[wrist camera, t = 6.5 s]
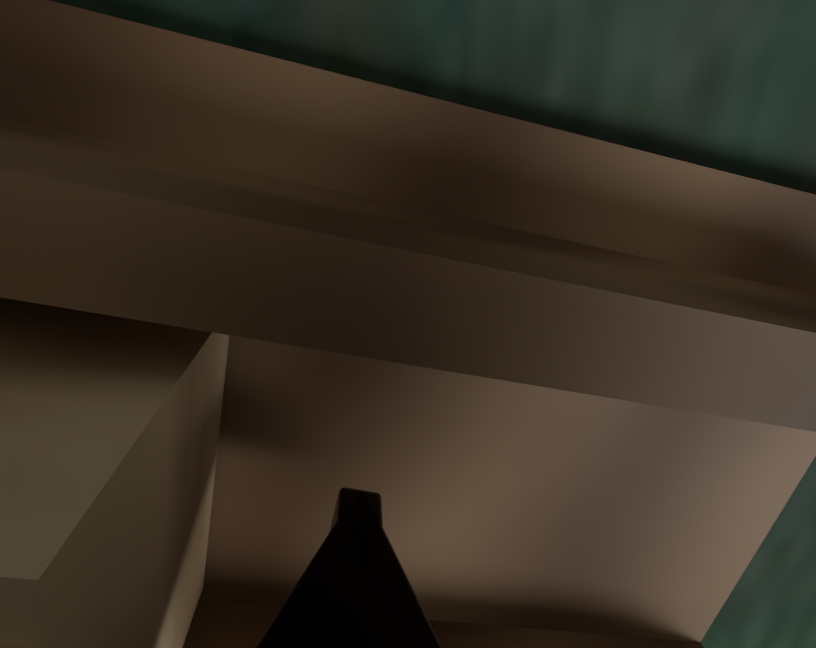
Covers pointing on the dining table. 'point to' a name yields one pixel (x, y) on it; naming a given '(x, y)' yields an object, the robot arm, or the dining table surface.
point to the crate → (104, 476)
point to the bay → (426, 327)
